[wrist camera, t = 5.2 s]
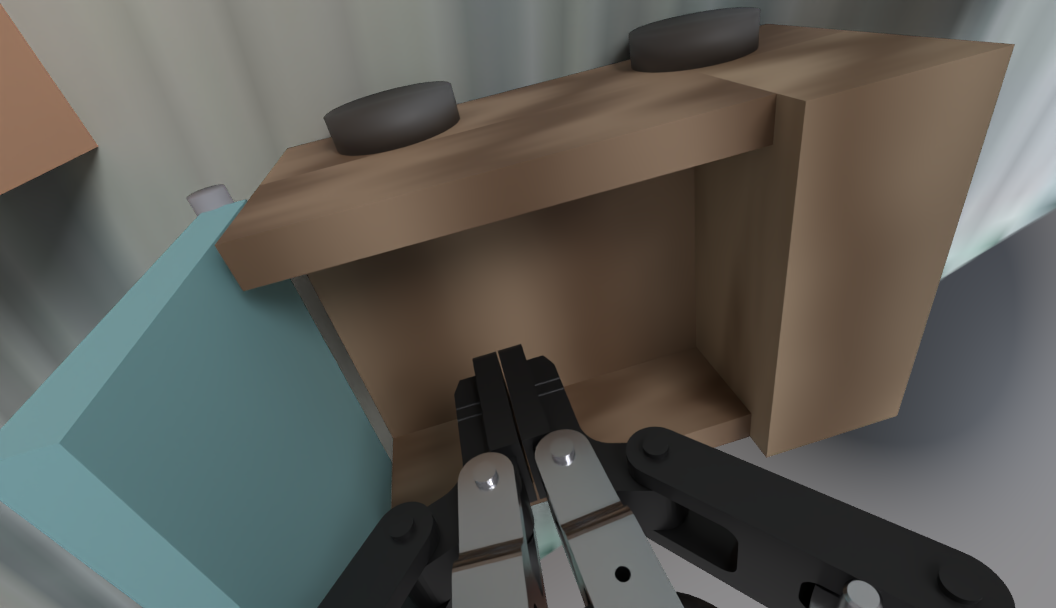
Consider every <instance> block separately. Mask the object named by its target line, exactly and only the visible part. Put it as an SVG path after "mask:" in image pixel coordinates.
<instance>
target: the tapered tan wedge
mask: <svg viewBox="0 0 1056 608" xmlns="http://www.w3.org/2000/svg"><path fill="white" fill-rule="evenodd" d="M96 147H98V145H97V144H96V142H95V141H94V139H93V138H92V136H91V135H90V134H89V132H88V131H87V129H86V128H85V126H84V125H83V123H82V122H81V120H80V119H79V117H78V116H77V115H76V113H75V112H74V110H73V109H72V107H71V106H70V104H69V103H68V101H67V100H66V99H65V97H64V96H63V94H62V93H61V91H60V90H59V88H58V87H57V85H56V84H55V82H54V81H53V80H52V78H51V77H50V75H49V74H48V72H47V71H46V69H45V68H44V66H43V65H42V64H41V62H40V61H39V59H38V58H37V56H36V55H35V53H34V52H33V50H32V49H31V47H30V46H29V45H28V43H27V42H26V40H25V39H24V37H23V36H22V34H21V33H20V31H19V30H18V29H17V27H16V26H15V24H14V23H13V21H12V20H11V18H10V17H9V15H8V14H7V12H6V11H5V10H4V8H3V7H2V5H1V4H0V195H1V194H3V193H5V192H7V191H9V190H11V189H13V188H15V187H17V186H19V185H22V184H24V183H26V182H28V181H30V180H32V179H34V178H36V177H38V176H40V175H42V174H44V173H46V172H48V171H50V170H52V169H54V168H56V167H58V166H60V165H62V164H64V163H66V162H68V161H70V160H72V159H74V158H76V157H78V156H80V155H82V154H84V153H86V152H88V151H90V150H92V149H94V148H96Z"/></svg>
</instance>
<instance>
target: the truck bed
mask: <svg viewBox="0 0 1056 608" xmlns="http://www.w3.org/2000/svg"><path fill="white" fill-rule="evenodd" d="M629 45H630V58H631V59H630V60H626V61H622V62H619V63H615V64H611V65H607V66H603V67H599V68H595V69H592V70H588V71H584V72H580V73H576V74H572V75H568V76H565V77H561V78H557V79H553V80H549V81H545V82H542V83H538V84H534V85H530V86H526V87H522V88H518V89H515V90H511V91H507V92H503V93H499V94H495V95H491V96H488V97H484V98H480V99H476V100H472V101H468V102H465V103H461V104H457V105H456V101H455V97H454V93H453V90H452V86H451V83H449V82H444V81H436V82H426V83H419V84H413V85H408V86H403V87H399V88H394V89H390V90H387V91H383V92H379V93H376V94H372V95H369V96H366V97H363V98H360V99H357V100H354V101H352V102H349V103H347V104H344V105H342V106H340V107H338V108H336V109H334V110H332V111H330V112H329V113H327V114H326V115H325V116H324V120H325V123H326V125H327V127H328V130H329V132H330V135H331V137H330V138H326V139H322V140H318V141H314V142H311V143H307V144H303V145H299V146H295V147H291V148H287V150H286V151H285V152H284V154H283V155H282V156H281V158H280V159H279V160H278V162H277V163H276V164H275V166H274V167H273V168H272V170H271V171H270V172H269V174H268V175H267V176H266V178H265V179H264V180H263V182H262V183H261V184H260V186H259V187H258V188H257V190H256V191H255V192H254V194H253V195H252V196H251V197H250V199H249V200H248V201H247V203H246V204H245V205H244V207H243V208H242V209H241V211H240V212H239V213H238V215H237V216H236V217H235V219H234V220H233V221H232V223H231V224H230V225H229V227H228V228H227V229H226V231H225V232H224V233H223V235H222V236H221V237H220V239H219V240H218V241H217V243H216V244H215V247H216V249H217V250H218V252H219V253H220V255H221V257H222V258H223V260H224V261H225V263H226V265H227V266H228V268H229V269H230V271H231V273H232V274H233V276H234V277H235V279H236V281H237V282H238V284H239V285H240V287H241V289H242V290H243V291H247V290H250V289H254V288H257V287H261V286H265V285H268V284H272V283H276V282H279V281H283V280H286V279H290V278H294V277H297V276H301V275H304V274H307V276H308V278H309V280H310V282H311V284H312V285H313V287H314V289H315V291H316V293H317V295H318V297H319V299H320V301H321V303H322V304H323V306H324V308H325V310H326V312H327V314H328V316H329V318H330V320H331V321H332V323H333V325H334V327H335V329H336V331H337V333H338V335H339V337H340V339H341V340H342V342H343V344H344V346H345V348H346V350H347V352H348V354H349V356H350V357H351V359H352V361H353V363H354V365H355V367H356V369H357V371H358V373H359V375H360V376H361V378H362V380H363V382H364V384H365V386H366V388H367V390H368V392H369V393H370V395H371V397H372V399H373V401H374V403H375V405H376V407H377V409H378V411H379V412H380V414H381V416H382V418H383V420H384V422H385V424H386V426H387V428H388V429H389V431H390V433H391V435H392V437H393V467H392V507H391V509H392V508H394V507H395V506H397V505H399V504H402V503H405V502H419V503H422V504H424V505H425V506H427V507H428V506H429V505H431V504H432V503H434V502H435V501H437V500H438V499H440V498H441V497H443V496H444V495H446V494H447V493H448V492H449V491H450V490H451V489H452V488H453V487H454V486H455V485H456V483H457V482H458V477H459V474H460V472H461V470H462V468H463V462H462V454H461V446H460V438H459V430H458V420H457V414H456V406H455V398H454V393H455V391H456V388H457V386H458V383H459V380H463V379H466V378H469V377H473V376H475V372H474V366H473V361H472V358H475V357H479V356H482V355H485V354H489V353H492V352H495V351H496V353H497V357H498V360H499V363H500V366H501V369H502V365H501V361H500V357H499V354H498V350H502V349H505V348H508V347H512V346H515V345H518V344H521V345H522V348H523V351H524V354H525V357H526V360H529V359H532V358H535V357H539V356H542V355H543V356H545V357H546V358H547V359H549V360H550V361H551V362H552V363H554V364H555V367H556V369H557V372H558V374H559V377H560V379H561V382H562V384H563V386H564V389H565V391H566V394H567V396H568V399H569V401H570V404H571V406H572V408H573V411H574V413H575V416H576V418H577V421H578V423H579V426H580V427H581V429H582V431H583V432H584V433H585V434H586V435H587V436H589V437H590V438H592V439H594V440H596V441H600V442H605V443H627V441H628V440H629V438H630V437H631V436H632V435H633V434H634V433H635V432H637V431H638V430H640V429H643V428H647V427H663V428H667V429H670V430H672V431H675V432H677V433H679V434H682V435H684V436H687V437H689V438H691V439H694V440H696V441H698V442H701V443H703V444H706V445H708V446H710V447H713V448H714V447H717V446H721V445H724V444H727V443H730V442H734V441H736V440H740V439H743V438H746V437H749V436H750V437H751V438H752V440H753V441H754V442H755V443H756V445H757V446H758V447H759V449H760V450H761V451H762V452H763V454H764V455H765V456H766V458H767V457H770V456H773V455H776V454H779V453H782V452H785V451H788V450H792V449H794V448H797V447H801V446H804V445H807V444H810V443H813V442H816V441H820V440H823V439H826V438H829V437H832V436H835V435H838V434H841V433H844V432H847V431H850V430H854V429H857V428H860V427H863V426H866V425H869V424H872V423H875V422H878V421H882V420H885V419H888V418H891V417H894V416H897V414H898V411H899V408H900V404H901V401H902V398H903V395H904V392H905V389H906V386H907V382H908V379H909V376H910V373H911V370H912V366H913V363H914V360H915V357H916V354H917V351H918V348H919V345H920V341H921V338H922V335H923V332H924V329H925V326H926V322H927V319H928V316H929V313H930V309H931V307H932V304H933V300H934V297H935V294H936V291H937V288H938V285H939V281H940V278H941V275H942V272H943V269H944V266H945V263H946V259H947V256H948V253H949V250H950V247H951V244H952V240H953V237H954V234H955V231H956V228H957V225H958V222H959V218H960V215H961V212H962V209H963V206H964V203H965V199H966V196H967V193H968V190H969V187H970V184H971V181H972V177H973V174H974V171H975V168H976V165H977V162H978V158H979V155H980V152H981V149H982V146H983V143H984V139H985V136H986V133H987V130H988V127H989V124H990V121H991V117H992V114H993V111H994V108H995V105H996V102H997V98H998V95H999V92H1000V89H1001V86H1002V83H1003V80H1004V76H1005V73H1006V70H1007V67H1008V64H1009V61H1010V57H1011V54H1012V51H1013V48H1014V45H1015V44H1004V43H992V42H980V41H968V40H956V39H944V38H932V37H920V36H908V35H896V34H883V33H871V32H859V31H847V30H835V29H823V28H811V27H799V26H787V25H775V24H765V25H761V26H760V9H758V8H754V7H737V8H725V9H717V10H709V11H703V12H697V13H692V14H686V15H682V16H677V17H673V18H668V19H664V20H661V21H657V22H654V23H650V24H647V25H644V26H642V27H639V28H637V29H635V30H633V31H631V32H630V33H629ZM502 373H503V369H502ZM503 376H504V373H503ZM504 379H505V376H504ZM505 382H506V380H505ZM506 385H507V384H506ZM507 389H508V388H507ZM508 392H509V391H508ZM524 451H525V450H524ZM525 455H526V453H525ZM526 458H527V456H526ZM527 462H528V460H527ZM528 466H529V463H528ZM529 470H530V474H531V477H532V481H533V485H534V489H535V492H536V496H537V501H534V502H531V503H530V505H531V506H532V505H535V504H538V503H542V502H545V501H548V500H547V497H546V498H543V499H540V498H539V495H538V491H537V488H536V485H535V482H534V479H533V475H532V472H531V469H530V466H529Z"/></svg>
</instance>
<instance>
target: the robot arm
mask: <svg viewBox="0 0 1056 608" xmlns="http://www.w3.org/2000/svg"><path fill="white" fill-rule="evenodd" d="M498 354H499V357H500V361H501V365H502V369H503V373H504V376H505V379H504V376H503V373H502V369H501V366H500V363H499V360H498V357H497V353H496V351H495V352H492V353H489V354H485V355H482V356H479V357H475V358H472V361H473V366H474V372H475V376H473V377H469V378H466V379H463V380H459V383H458V386H457V388H456V391H455V393H454V398H455V406H456V414H457V420H458V430H459V438H460V446H461V454H462V462H463V468H462V470H461V472H460V474H459V477H458V482H457V483H456V485H455V486H454V487H453V488H452V489H451V490H450V491H449V492H448V493H447V494H446V495H444V496H443V497H441V498H440V499H438V500H437V501H435V502H434V503H432V504H431V505H429V506H428V507H427V506H425V505H424V504H422V503H419V502H405V503H402V504H399V505H397V506H395V507H394V508H392V509H391V510H389V511H388V512H387V513H386V514H385V515H384V516H383V517H382V518H381V520H380V521H379V522H378V524H377V525H376V526H375V528H374V529H373V531H372V532H371V533H370V535H369V536H368V538H367V539H366V540H365V542H364V543H363V545H362V546H361V547H360V549H359V550H358V552H357V553H356V554H355V556H354V557H353V559H352V560H351V561H350V563H349V564H348V565H347V567H346V568H345V570H344V571H343V572H342V574H341V575H340V577H339V578H338V579H337V581H336V582H335V584H334V585H333V586H332V588H331V589H330V591H329V592H328V593H327V595H326V596H325V598H324V599H323V600H322V602H321V603H320V605H319V606H318V607H317V608H548V605H547V599H546V593H545V587H544V581H543V575H542V569H541V563H540V556H539V550H538V544H537V538H536V532H535V528H534V517H533V513H532V509H531V505H530V503H531V502H534V501H537V496H536V492H535V489H534V485H533V481H532V477H531V474H530V470H529V466H530V469H531V472H532V475H533V479H534V482H535V485H536V488H537V491H538V495H539V498H540V499H543V498H546V497H547V500H548V503H549V507H550V510H551V513H552V517H553V520H554V523H555V526H556V529H557V532H558V534H559V537H560V540H561V542H562V545H563V548H564V550H565V553H566V556H567V558H568V561H569V564H570V566H571V568H572V572H573V574H574V577H575V579H576V582H577V585H578V587H579V590H580V593H581V596H582V598H583V601H584V604H585V608H717V607H715V606H714V605H712V604H710V603H708V602H706V601H704V600H702V599H699V598H697V597H694V596H691V595H689V594H684V593H680V592H675V590H674V588H673V586H672V585H671V583H670V581H669V579H668V577H667V575H666V573H665V572H664V570H663V568H662V566H661V564H660V562H659V560H658V559H657V557H656V555H655V553H654V551H653V549H652V547H651V545H650V544H649V542H648V540H647V538H646V537H648V538H649V539H651V540H652V541H654V542H656V543H657V544H659V545H661V546H663V547H664V548H666V549H668V550H670V551H671V552H673V553H675V554H676V555H678V556H680V557H682V558H683V559H685V560H687V561H688V562H690V563H692V564H694V565H695V566H697V567H699V568H701V569H702V570H704V571H706V572H707V573H709V574H711V575H713V576H714V577H716V578H718V579H719V580H722V581H723V582H725V583H726V584H728V585H730V586H732V587H733V588H735V589H737V590H738V591H740V592H742V593H744V594H745V595H747V596H749V597H750V598H752V599H754V600H756V601H757V602H759V603H761V604H763V605H764V606H766V607H768V608H1015V603H1014V600H1013V598H1012V595H1011V593H1010V591H1009V589H1008V588H1007V586H1006V585H1005V584H1004V582H1003V581H1002V580H1001V579H1000V578H999V577H998V576H997V574H995V573H994V572H993V571H992V570H991V569H990V568H989V567H987V566H986V565H984V564H983V563H982V562H980V561H979V560H977V559H975V558H973V557H972V556H970V555H967V554H965V553H963V552H961V551H959V550H956V549H953V548H951V547H949V546H947V545H944V544H942V543H939V542H937V541H935V540H932V539H930V538H928V537H925V536H923V535H920V534H918V533H916V532H913V531H911V530H908V529H906V528H904V527H901V526H899V525H896V524H894V523H892V522H889V521H887V520H885V519H882V518H880V517H877V516H875V515H872V514H870V513H868V512H865V511H863V510H861V509H858V508H856V507H854V506H851V505H849V504H846V503H844V502H841V501H839V500H837V499H834V498H832V497H830V496H827V495H825V494H822V493H820V492H818V491H815V490H813V489H811V488H808V487H806V486H803V485H801V484H799V483H796V482H794V481H791V480H789V479H787V478H784V477H782V476H780V475H777V474H775V473H772V472H770V471H768V470H765V469H763V468H760V467H758V466H756V465H753V464H751V463H748V462H746V461H744V460H741V459H739V458H736V457H734V456H732V455H729V454H727V453H724V452H722V451H720V450H718V449H715V448H713V447H710V446H708V445H706V444H703V443H701V442H698V441H696V440H694V439H691V438H689V437H687V436H684V435H682V434H679V433H677V432H675V431H672V430H670V429H667V428H663V427H647V428H643V429H640V430H638V431H637V432H635V433H634V434H633V435H632V436H631V437H630V438H629V440H628V441H627V443H605V442H600V441H596V440H594V439H592V438H590V437H589V436H587V435H586V434H585V433H584V432H583V431H582V429H581V427H580V426H579V423H578V421H577V418H576V416H575V413H574V411H573V408H572V406H571V404H570V401H569V399H568V396H567V394H566V391H565V389H564V386H563V384H562V382H561V379H560V377H559V374H558V372H557V369H556V367H555V364H554V363H552V362H551V361H550V360H549V359H547V358H546V357H545V356H543V355H542V356H539V357H535V358H532V359H529V360H526V357H525V354H524V351H523V348H522V345H521V344H518V345H515V346H512V347H508V348H505V349H502V350H498ZM505 380H506V382H505ZM506 384H507V385H506ZM507 388H508V389H507ZM508 391H509V392H508ZM524 450H525V451H524ZM525 453H526V455H525ZM526 456H527V458H526ZM527 460H528V462H527ZM528 463H529V466H528Z"/></svg>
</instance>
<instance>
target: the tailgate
mask: <svg viewBox="0 0 1056 608" xmlns="http://www.w3.org/2000/svg"><path fill="white" fill-rule="evenodd" d="M187 200H188V202H189V203H190V205H191V207H192V208H193V210H194V211H195V213H196V215H197V216H198V217H197V218H196V219H195V220H194V221H193V222H192V223H191V224H190V225H189V226H188V228H187V229H186V230H185V231H184V232H183V233H182V234H181V235H180V236H179V237H178V238H177V239H176V241H175V242H174V243H173V244H172V245H171V246H170V247H169V248H168V249H167V250H166V251H165V252H164V253H163V255H162V256H161V257H160V258H159V259H158V260H157V261H156V262H155V263H154V264H153V265H152V266H151V267H150V269H149V270H148V271H147V272H146V273H145V274H144V275H143V276H142V277H141V278H140V279H139V280H138V281H137V283H136V284H135V285H134V286H133V287H132V288H131V289H130V290H129V291H128V292H127V293H126V294H125V296H124V297H123V298H122V299H121V300H120V301H119V302H118V303H117V304H116V305H115V306H114V307H113V308H112V310H111V311H110V312H109V313H108V314H107V315H106V316H105V317H104V318H103V319H102V320H101V321H100V322H99V324H98V325H97V326H96V327H95V328H94V329H93V330H92V331H91V332H90V333H89V334H88V335H87V337H86V338H85V339H84V340H83V341H82V342H81V343H80V344H79V345H78V346H77V347H76V348H75V349H74V351H73V352H72V353H71V354H70V355H69V356H68V357H67V358H66V359H65V360H64V361H63V362H62V363H61V365H60V366H59V367H58V368H57V369H56V370H55V371H54V372H53V373H52V374H51V375H50V376H49V377H48V379H47V380H46V381H45V382H44V383H43V384H42V385H41V386H40V387H39V388H38V389H37V390H36V392H35V393H34V394H33V395H32V396H31V397H30V398H29V399H28V400H27V401H26V402H25V403H24V404H23V406H22V407H21V408H20V409H19V410H18V411H17V412H16V413H15V414H14V415H13V416H12V417H11V418H10V420H9V421H8V422H7V423H6V424H5V425H4V426H3V427H2V428H1V429H0V501H1V502H3V503H4V504H5V505H7V506H8V507H9V508H11V509H12V510H13V511H15V512H16V513H17V514H19V515H20V516H21V517H23V518H24V519H25V520H27V521H28V522H29V523H31V524H32V525H33V526H35V527H36V528H37V529H39V530H40V531H41V532H43V533H44V534H45V535H47V536H48V537H49V538H51V539H52V540H53V541H55V542H56V543H57V544H59V545H60V546H62V547H63V548H64V549H66V550H67V551H68V552H70V553H71V554H72V555H74V556H75V557H76V558H78V559H79V560H80V561H82V562H83V563H84V564H86V565H87V566H88V567H90V568H91V569H92V570H94V571H95V572H96V573H98V574H99V575H100V576H102V577H103V578H104V579H106V580H107V581H108V582H110V583H111V584H112V585H114V586H115V587H116V588H118V589H119V590H120V591H122V592H123V593H124V594H126V595H127V596H128V597H130V598H131V599H132V600H134V601H135V602H136V603H138V604H139V605H140V606H142V607H143V608H317V607H318V606H319V605H320V603H321V602H322V600H323V599H324V598H325V596H326V595H327V593H328V592H329V591H330V589H331V588H332V586H333V585H334V584H335V582H336V581H337V579H338V578H339V577H340V575H341V574H342V572H343V571H344V570H345V568H346V567H347V565H348V564H349V563H350V561H351V560H352V559H353V557H354V556H355V554H356V553H357V552H358V550H359V549H360V547H361V546H362V545H363V543H364V542H365V540H366V539H367V538H368V536H369V535H370V533H371V532H372V531H373V529H374V528H375V526H376V525H377V524H378V522H379V521H380V520H381V518H382V517H383V516H384V515H385V514H386V513H387V512H388V511H389V510H391V482H392V462H391V460H390V458H389V457H388V455H387V453H386V451H385V449H384V448H383V446H382V444H381V442H380V440H379V439H378V437H377V435H376V433H375V431H374V429H373V428H372V426H371V424H370V422H369V420H368V419H367V417H366V415H365V413H364V411H363V410H362V408H361V406H360V404H359V402H358V401H357V399H356V397H355V395H354V393H353V391H352V390H351V388H350V386H349V384H348V382H347V381H346V379H345V377H344V375H343V373H342V372H341V370H340V368H339V366H338V364H337V363H336V361H335V359H334V357H333V355H332V353H331V352H330V350H329V348H328V346H327V344H326V343H325V341H324V339H323V337H322V335H321V334H320V332H319V330H318V328H317V326H316V325H315V323H314V321H313V319H312V317H311V316H310V314H309V312H308V310H307V308H306V306H305V305H304V303H303V301H302V299H301V297H300V296H299V294H298V292H297V290H296V288H295V287H294V285H293V283H292V281H291V279H286V280H283V281H279V282H276V283H272V284H268V285H265V286H261V287H257V288H254V289H250V290H247V291H243V290H242V289H241V287H240V285H239V284H238V282H237V281H236V279H235V277H234V276H233V274H232V273H231V271H230V269H229V268H228V266H227V265H226V263H225V261H224V260H223V258H222V257H221V255H220V253H219V252H218V250H217V249H216V247H215V244H216V243H217V241H218V240H219V239H220V237H221V236H222V235H223V233H224V232H225V231H226V229H227V228H228V227H229V225H230V224H231V223H232V221H233V220H234V219H235V217H236V216H237V215H238V213H239V212H240V211H241V209H242V208H243V207H244V205H245V204H246V203H247V200H242V201H238V202H235V203H234V201H233V199H232V197H231V196H230V194H229V192H228V190H227V189H226V187H225V185H223V184H219V185H214V186H210V187H207V188H204V189H201V190H198V191H196V192H194V193H192V194H191V195H189V196H188V197H187Z"/></svg>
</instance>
